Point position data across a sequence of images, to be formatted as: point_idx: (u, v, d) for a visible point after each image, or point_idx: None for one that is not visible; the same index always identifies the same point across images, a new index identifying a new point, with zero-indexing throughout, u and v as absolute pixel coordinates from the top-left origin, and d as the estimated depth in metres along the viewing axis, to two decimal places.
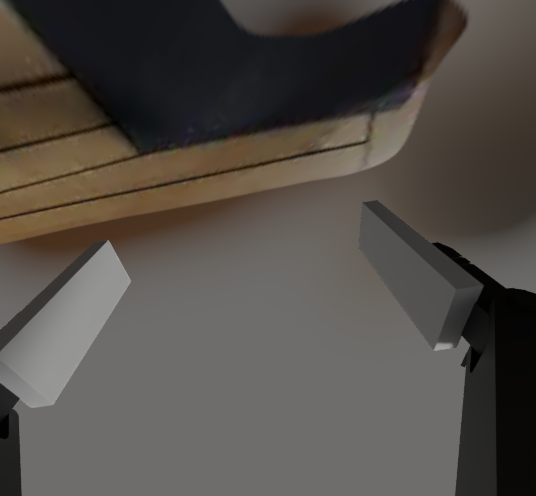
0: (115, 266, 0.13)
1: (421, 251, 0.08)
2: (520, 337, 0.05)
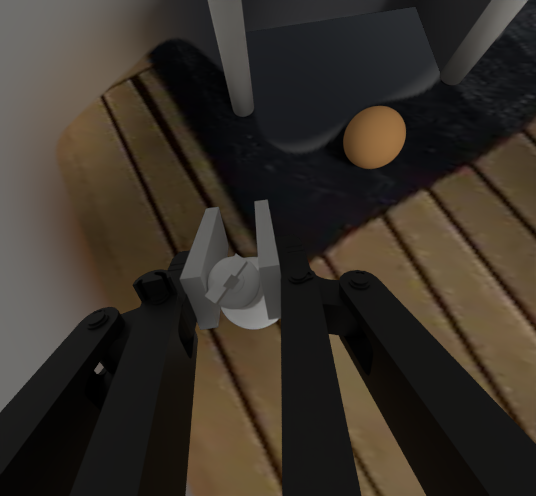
0: (223, 230, 0.14)
1: (261, 240, 0.10)
2: (295, 305, 0.07)
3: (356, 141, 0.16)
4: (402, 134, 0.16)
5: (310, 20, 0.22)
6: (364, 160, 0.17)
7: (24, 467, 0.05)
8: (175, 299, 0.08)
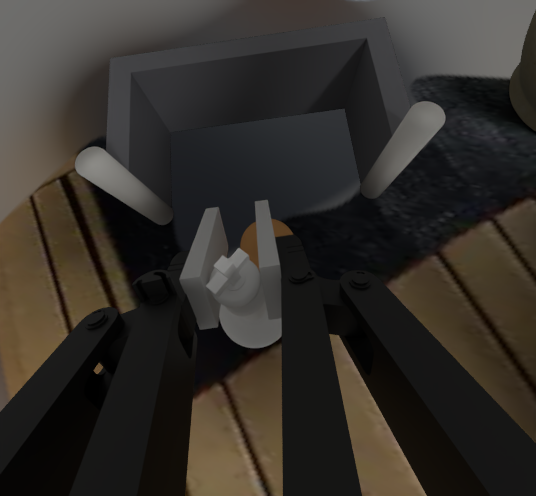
0: (222, 230, 0.14)
1: (261, 240, 0.10)
2: (296, 305, 0.07)
3: (242, 240, 0.17)
4: (281, 230, 0.16)
5: (238, 121, 0.22)
6: (250, 255, 0.16)
7: (23, 467, 0.05)
8: (175, 299, 0.08)
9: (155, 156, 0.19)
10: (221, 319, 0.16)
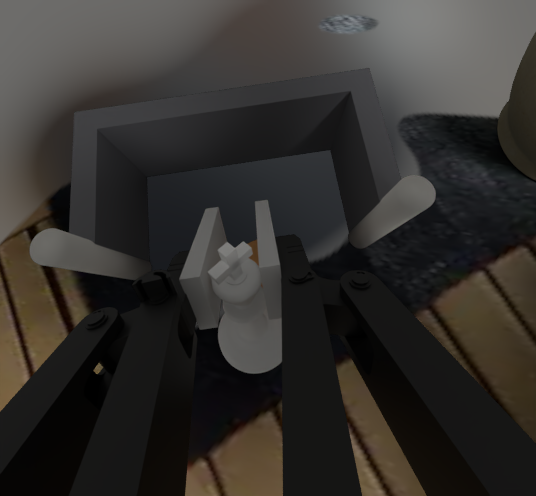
0: (222, 230, 0.14)
1: (261, 240, 0.10)
2: (296, 305, 0.07)
3: None
4: None
5: (219, 165, 0.21)
6: None
7: (23, 467, 0.05)
8: (174, 299, 0.08)
9: (129, 212, 0.18)
10: (219, 338, 0.15)
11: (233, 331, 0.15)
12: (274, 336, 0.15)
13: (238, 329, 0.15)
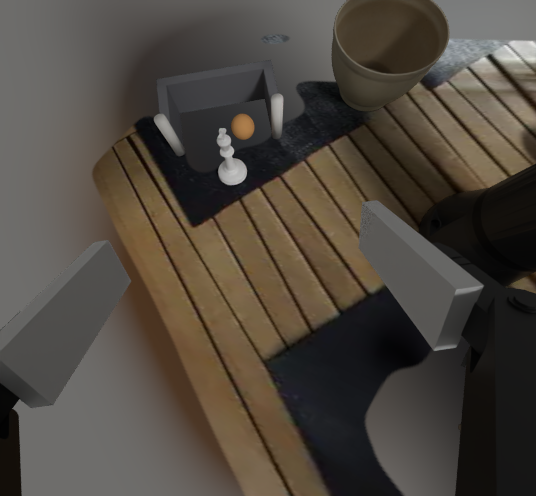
0: (115, 266, 0.13)
1: (421, 251, 0.08)
2: (520, 337, 0.05)
3: None
4: None
5: (213, 106, 0.45)
6: None
7: None
8: None
9: (176, 122, 0.42)
10: (220, 176, 0.41)
11: (224, 172, 0.41)
12: (239, 169, 0.41)
13: (226, 169, 0.41)
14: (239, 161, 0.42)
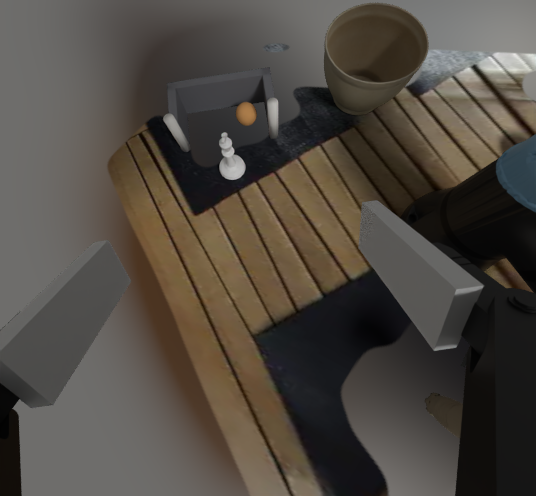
0: (115, 266, 0.13)
1: (421, 251, 0.08)
2: (520, 337, 0.05)
3: None
4: (248, 122, 0.47)
5: (217, 108, 0.50)
6: None
7: None
8: None
9: (183, 121, 0.47)
10: (222, 172, 0.46)
11: (225, 168, 0.46)
12: (239, 164, 0.46)
13: (227, 166, 0.45)
14: (237, 157, 0.46)
